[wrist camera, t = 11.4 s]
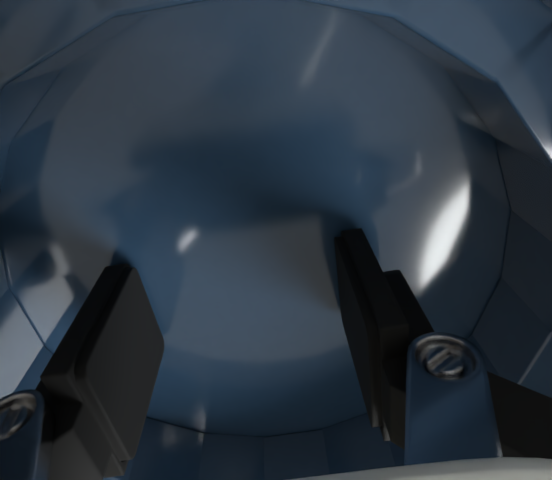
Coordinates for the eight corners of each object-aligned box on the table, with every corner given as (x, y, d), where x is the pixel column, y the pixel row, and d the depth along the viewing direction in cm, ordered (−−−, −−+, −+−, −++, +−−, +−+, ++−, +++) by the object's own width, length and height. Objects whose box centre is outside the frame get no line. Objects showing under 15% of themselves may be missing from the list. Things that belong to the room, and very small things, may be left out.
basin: (637, -187, 8) (1291, -524, 3) (513, 412, 16) (622, 584, 11) (-231, -20, 8) (-897, -58, 4) (90, 469, 17) (24, 653, 12)
